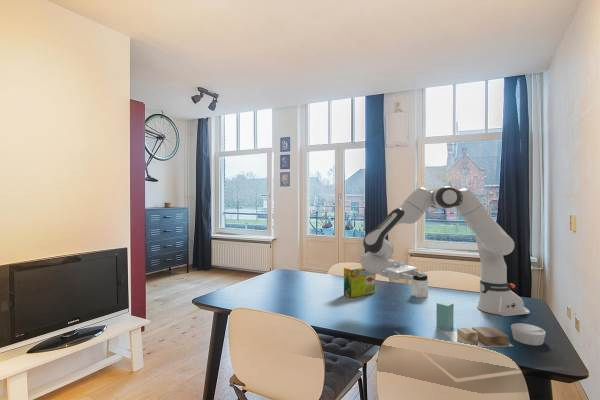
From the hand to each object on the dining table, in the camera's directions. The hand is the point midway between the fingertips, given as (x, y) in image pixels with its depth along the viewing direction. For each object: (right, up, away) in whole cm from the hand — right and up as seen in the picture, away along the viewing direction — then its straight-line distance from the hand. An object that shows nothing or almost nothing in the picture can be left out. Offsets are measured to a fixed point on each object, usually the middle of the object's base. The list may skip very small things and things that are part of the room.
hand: (417, 276), depth 153 cm
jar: (+14, -19, +38) cm, 45 cm away
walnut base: (+20, -19, -23) cm, 36 cm away
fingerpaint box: (-19, -20, +42) cm, 50 cm away
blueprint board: (+16, -20, -21) cm, 33 cm away
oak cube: (+10, -20, -25) cm, 33 cm away
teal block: (+8, -20, -9) cm, 24 cm away
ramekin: (+35, -20, -22) cm, 46 cm away
